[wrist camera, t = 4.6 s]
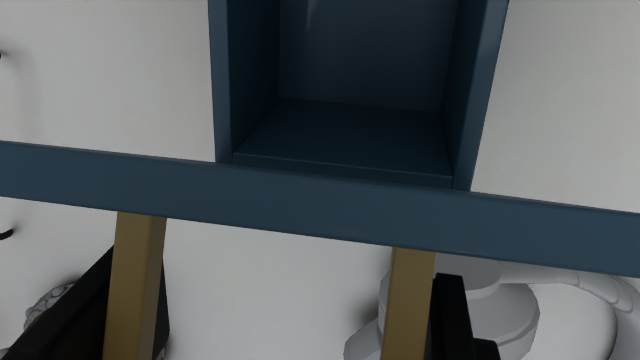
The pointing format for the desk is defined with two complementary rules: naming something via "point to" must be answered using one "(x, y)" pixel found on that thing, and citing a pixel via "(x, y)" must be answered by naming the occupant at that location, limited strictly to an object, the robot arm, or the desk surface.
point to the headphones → (512, 305)
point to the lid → (308, 227)
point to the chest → (354, 86)
